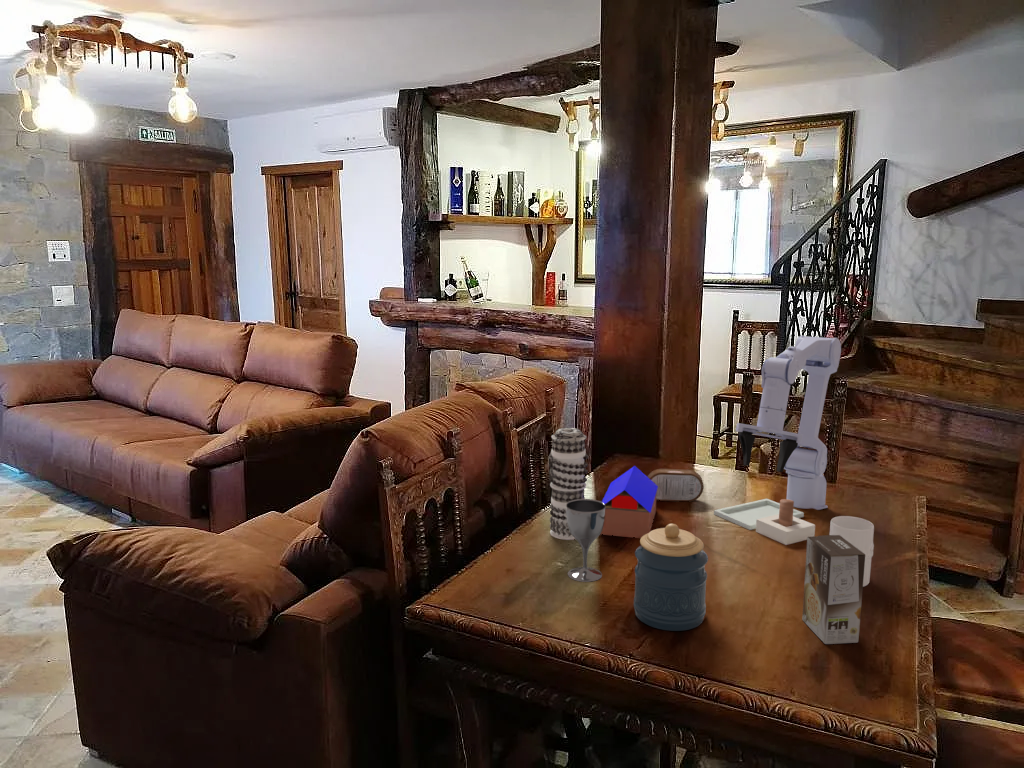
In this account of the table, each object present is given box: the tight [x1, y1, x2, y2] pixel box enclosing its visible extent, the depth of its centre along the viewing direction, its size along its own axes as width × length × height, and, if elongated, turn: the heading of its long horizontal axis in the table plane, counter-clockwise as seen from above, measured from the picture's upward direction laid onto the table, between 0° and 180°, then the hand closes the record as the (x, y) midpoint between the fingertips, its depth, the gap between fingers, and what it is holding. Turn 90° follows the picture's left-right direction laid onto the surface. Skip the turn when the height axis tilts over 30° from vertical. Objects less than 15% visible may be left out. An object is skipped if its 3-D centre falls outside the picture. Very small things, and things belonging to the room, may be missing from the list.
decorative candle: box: [548, 427, 589, 541], centre depth 177 cm, size 9×9×25 cm
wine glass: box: [566, 498, 605, 583], centre depth 156 cm, size 8×8×15 cm
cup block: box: [755, 514, 816, 546], centre depth 175 cm, size 9×9×4 cm
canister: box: [633, 523, 709, 632], centre depth 138 cm, size 13×13×18 cm
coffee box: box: [802, 534, 865, 645], centre depth 132 cm, size 9×6×16 cm
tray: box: [713, 498, 805, 531], centre depth 188 cm, size 18×12×2 cm, turn 118°
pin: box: [779, 498, 795, 527], centre depth 175 cm, size 3×3×8 cm
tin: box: [646, 468, 705, 503], centre depth 201 cm, size 15×3×8 cm, turn 84°
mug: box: [829, 515, 875, 588], centre depth 155 cm, size 8×12×12 cm
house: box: [600, 465, 658, 539], centre depth 185 cm, size 12×20×12 cm, turn 164°
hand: (762, 468), depth 173 cm, fingers open, 7 cm apart
